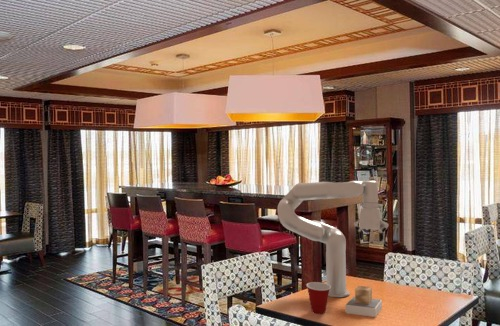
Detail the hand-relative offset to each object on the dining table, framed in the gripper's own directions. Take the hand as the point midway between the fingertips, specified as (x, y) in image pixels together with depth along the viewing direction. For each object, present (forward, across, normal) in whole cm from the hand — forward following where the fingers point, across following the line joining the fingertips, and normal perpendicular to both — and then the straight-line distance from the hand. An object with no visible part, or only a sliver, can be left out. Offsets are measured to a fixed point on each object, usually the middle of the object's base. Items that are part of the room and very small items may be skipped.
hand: (371, 240), depth 238 cm
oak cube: (+23, +4, -27) cm, 36 cm away
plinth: (+27, +4, -27) cm, 38 cm away
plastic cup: (+27, -12, -38) cm, 48 cm away
